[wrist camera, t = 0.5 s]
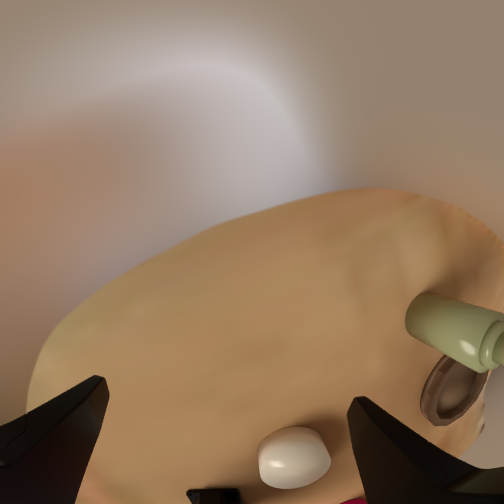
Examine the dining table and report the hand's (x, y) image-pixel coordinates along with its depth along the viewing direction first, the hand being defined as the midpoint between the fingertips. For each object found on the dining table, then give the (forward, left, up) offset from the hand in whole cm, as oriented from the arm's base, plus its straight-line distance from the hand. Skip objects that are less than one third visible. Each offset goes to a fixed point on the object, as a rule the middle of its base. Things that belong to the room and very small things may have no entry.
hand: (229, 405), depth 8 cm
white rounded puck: (-17, -3, -14) cm, 22 cm away
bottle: (-5, -18, -14) cm, 24 cm away
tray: (-16, -24, -14) cm, 32 cm away
